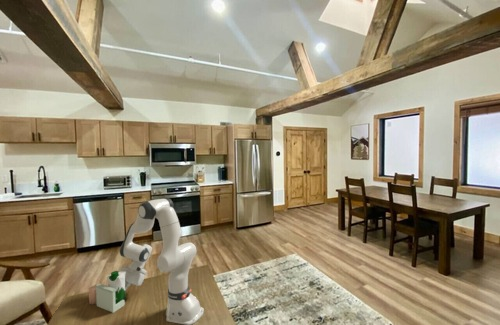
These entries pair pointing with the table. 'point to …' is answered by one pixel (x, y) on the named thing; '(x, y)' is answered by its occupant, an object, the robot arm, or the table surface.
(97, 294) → the display nook
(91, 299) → the terracotta jar
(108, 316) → the table surface
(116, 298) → the soya milk
